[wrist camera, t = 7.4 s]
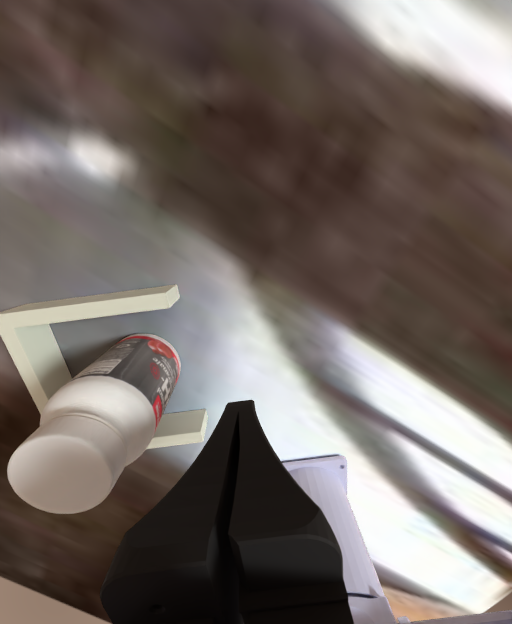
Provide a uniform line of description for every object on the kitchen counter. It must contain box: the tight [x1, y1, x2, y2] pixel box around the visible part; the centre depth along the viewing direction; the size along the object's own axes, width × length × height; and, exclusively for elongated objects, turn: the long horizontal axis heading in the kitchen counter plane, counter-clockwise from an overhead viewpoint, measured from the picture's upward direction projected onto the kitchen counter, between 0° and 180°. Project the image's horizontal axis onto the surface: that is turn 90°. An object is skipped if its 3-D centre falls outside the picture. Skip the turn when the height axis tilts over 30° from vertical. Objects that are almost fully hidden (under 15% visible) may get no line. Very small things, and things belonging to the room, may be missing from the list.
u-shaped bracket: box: [0, 284, 208, 449], centre depth 18 cm, size 12×11×2 cm
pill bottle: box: [7, 334, 181, 514], centre depth 14 cm, size 5×5×10 cm
